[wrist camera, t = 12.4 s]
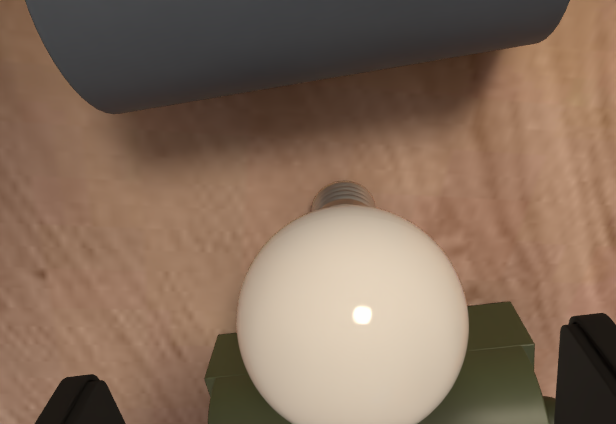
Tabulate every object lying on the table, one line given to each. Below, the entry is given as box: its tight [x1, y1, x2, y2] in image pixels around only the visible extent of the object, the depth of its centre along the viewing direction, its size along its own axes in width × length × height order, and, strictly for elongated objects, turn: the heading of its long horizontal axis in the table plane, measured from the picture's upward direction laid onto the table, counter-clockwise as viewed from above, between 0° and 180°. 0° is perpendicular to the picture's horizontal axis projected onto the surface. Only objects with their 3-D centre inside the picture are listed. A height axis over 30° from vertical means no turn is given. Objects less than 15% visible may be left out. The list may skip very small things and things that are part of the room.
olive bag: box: [204, 302, 556, 424], centre depth 22 cm, size 7×15×7 cm, turn 100°
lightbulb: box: [236, 181, 469, 424], centre depth 16 cm, size 6×6×11 cm
